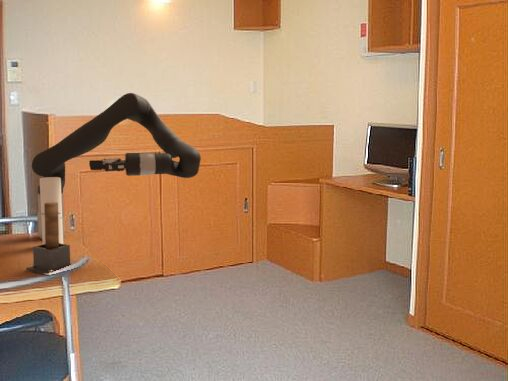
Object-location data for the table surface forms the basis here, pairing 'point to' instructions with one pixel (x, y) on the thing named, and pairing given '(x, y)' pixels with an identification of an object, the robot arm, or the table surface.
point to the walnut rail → (51, 225)
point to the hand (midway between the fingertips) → (89, 165)
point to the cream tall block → (51, 193)
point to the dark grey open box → (50, 258)
